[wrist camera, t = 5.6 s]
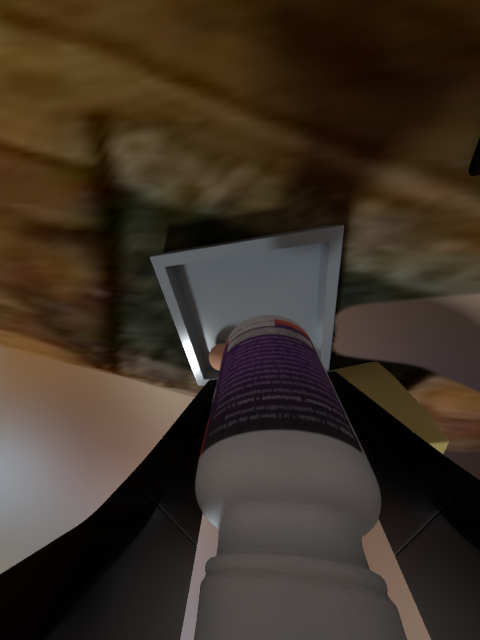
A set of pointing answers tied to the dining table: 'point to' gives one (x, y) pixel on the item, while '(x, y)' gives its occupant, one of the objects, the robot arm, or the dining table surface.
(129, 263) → the dining table surface
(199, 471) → the pill bottle
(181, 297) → the tray
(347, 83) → the dining table surface
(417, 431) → the cheese
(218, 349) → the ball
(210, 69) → the dining table surface
